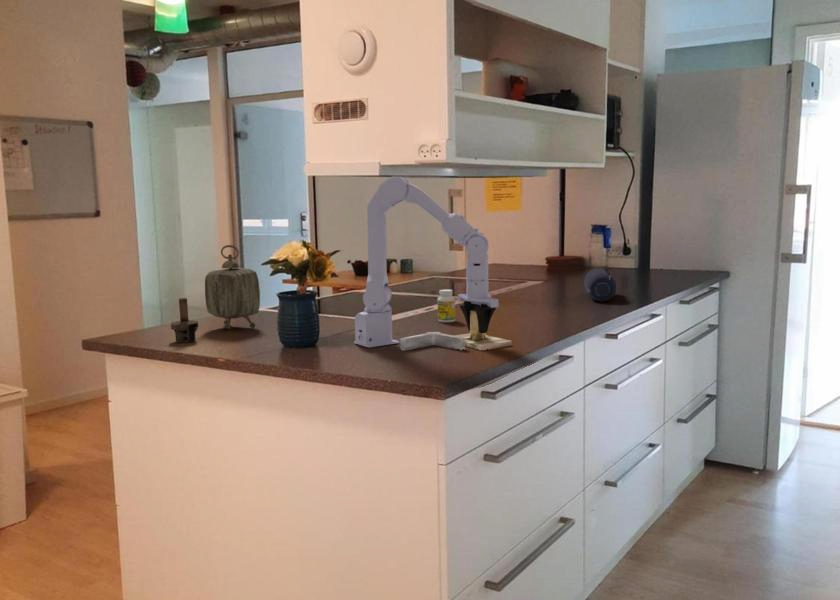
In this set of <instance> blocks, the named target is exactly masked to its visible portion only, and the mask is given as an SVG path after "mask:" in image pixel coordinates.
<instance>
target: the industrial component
mask: <svg viewBox="0 0 840 600" xmlns="http://www.w3.org/2000/svg"><path fill="white" fill-rule="evenodd" d="M178 306H179V320H178V321H173V322H171V323H170V329H171V330H173V331H174V332H175V333H174V334H175V342H178V343H190V342H196V332H197V330H198V328H199V321H198V320H190V319H189V309H188V308H189V306H188V298H187V297H180V298H178Z"/></svg>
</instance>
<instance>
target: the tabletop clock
mask: <svg viewBox="0 0 840 600" xmlns="http://www.w3.org/2000/svg"><path fill="white" fill-rule="evenodd" d="M227 248H232V249H234V250H235V251H236V255H235V256H232V254H228V255H225V254H223V253H224V252H223V251H224V250H225V249H227ZM239 252H240V251H239V249H238V248H237V247H236V246H235V245H232V244H226V245H224V246H223V247H222V248H221V249H220V254H221V256H222V257H223V258H224V259H226V260H225V261H224V262H223V264H222V266H221V269H217V270H211V271H209V272H208V273H207V274H206V275H205V279H204V295H205V296H204V297H205V298H204V299H205V307H206V310H207V313H209V314H210V315H212V316H214V317H217V318H222V319H224V320H223V324H224V326H225V329H226V330H227V331H228V330H230V329H232V325H231V320H232V319H239V318H243V319H245V320H246V321H247V322H248V323H249V326H250V328H251V329H253V328H255V327H256V323H255V322H252V321H251V319H250V317H249V316H253V315H257V314H259V310H260V307H261V306H260V305H261V292H260V282H259V281H260V280H259V277H258V273H257V272H256V271H255V270H253V269H251V268H244V267H240V265H239V263H238V262H237V261H236V260H235V259H237V258H238V257H239V254H240V253H239Z"/></svg>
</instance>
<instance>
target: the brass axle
mask: <svg viewBox="0 0 840 600" xmlns="http://www.w3.org/2000/svg"><path fill="white" fill-rule="evenodd" d="M469 333H470V341H474V342H479V341H485V340H486V339H485V335H486V333H482V334H481V333H479V328H478V318H477V314H476V311H475V310H470V331H469Z"/></svg>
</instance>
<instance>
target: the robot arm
mask: <svg viewBox="0 0 840 600" xmlns="http://www.w3.org/2000/svg"><path fill="white" fill-rule="evenodd" d="M404 200H405V203H410V204H415V205H417V206H418V207H420V208H421V209H423V210H424V211H425V212H426V213H428V214H429V215H430V216H431V217H432V218H435V220H437V221H438V222H440V224H441V230H442V231H443V232H444V233H445V234H446V235H447V236H448V237H450V238H451V239H452V240H453V241H454V242H456V244H458V245H459V246H461V247H462V246H463V247H464V248H465V251H466V257H467V258H466V262H465V267H466V268H465V269H466V270H465V273H466V275H465V276H466V279H465V280H466V287H465V288H466V293H459V294H457V302H459V303H462V304H459V308H460V310H461V311H462V314H463V316H464V319H465V323H466V326H467V330H468V331H469V332H470V310H475V311H476V314H477V318H478V328H479V333H481V334H482V333H485V334H487V333H488V330H489V326H490V322H491V319H492V317H493V314H494V312H495V311H496V309H497V308H499V299H497V298H495V297H492V295H489V292H490V291H489V262H488V260H489V254H488V250H489V240H488V238H487V237H486V236H485V234H484V233H483V232H479V230H480V229H479V228H478V227H474V226H473V225H471V224H470V223H469V222H468V221H467V220H465V216H464V215H463V214H462V213H461V214H460V215H459V214H458V213H457V212H456V213H452V212H451V213H449V212H448V211H446V209H445V208H443V207H442V206H441V205H440V204H439V203H438V202H436V201H435V200H434V198H432V197H431V196H430V195H429V194H428V193H426V192H425V191H424V190H423V189H421V188H420V187H418V186H417V185H416V184H413V182H412V183H411V182H409V180H407V179H406V178H405V177H401V176H390V177H389V178H386V179H385V180H383V182H381V183H380V184H379V185H378V188H377V189H376V191H375V192H374V194H373V196H372V197H371V199H370V201H369V202H368V204H367V273H368V274H367V279H366V285H365V286H366V287H365V288H366V289H365V291H364V293H363V295H362V302H363V305H364V306H365V307H364V310H363V311H362V312H358V313H357V314H355V318H354V336H355V337H354V339H355V341H353V343H354V344H356V345H359V346H362V347H366V348H375V347H381V346H388V345H394V344H399V343H400V341H399V340H396V339H393V316H392V315H393V314H392V312H393V311H392V309H393V308H392V306H390V304H389V303H390V302H391V300H392V295H393V292H392V289H391V288H390V285H389V278H388V272H387V271H388V270H387V260H388V259H387V213H388V212H390V210H391V209H393V207H394V206H395V205H397V204H399V203H401V202H403V201H404Z"/></svg>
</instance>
